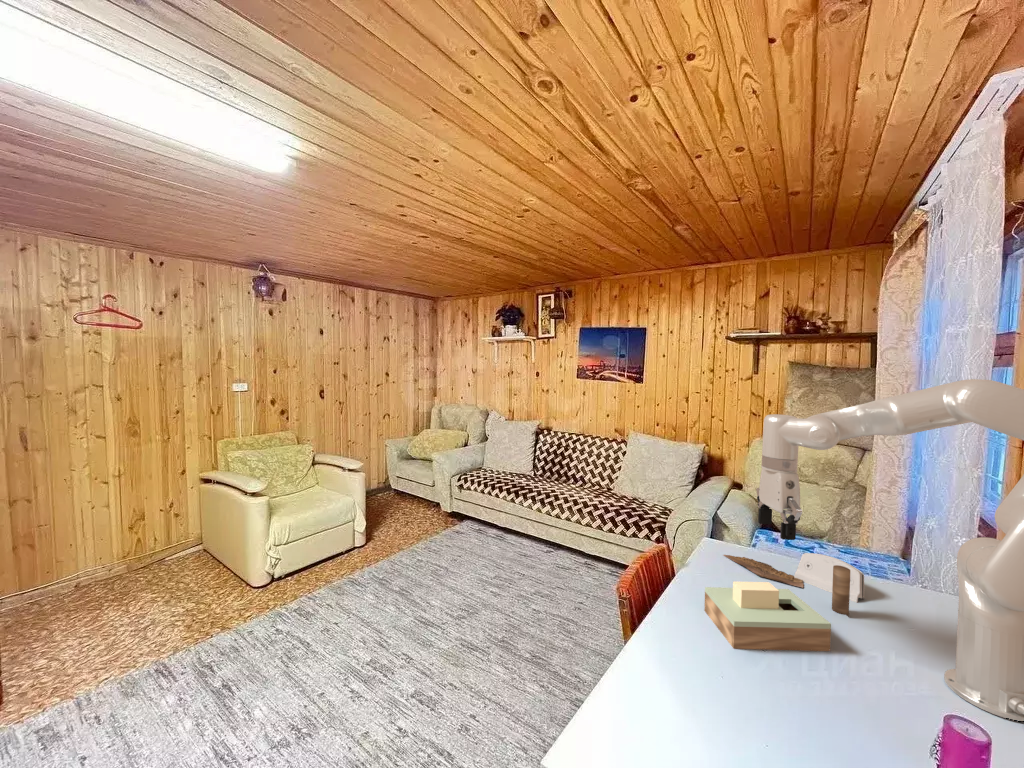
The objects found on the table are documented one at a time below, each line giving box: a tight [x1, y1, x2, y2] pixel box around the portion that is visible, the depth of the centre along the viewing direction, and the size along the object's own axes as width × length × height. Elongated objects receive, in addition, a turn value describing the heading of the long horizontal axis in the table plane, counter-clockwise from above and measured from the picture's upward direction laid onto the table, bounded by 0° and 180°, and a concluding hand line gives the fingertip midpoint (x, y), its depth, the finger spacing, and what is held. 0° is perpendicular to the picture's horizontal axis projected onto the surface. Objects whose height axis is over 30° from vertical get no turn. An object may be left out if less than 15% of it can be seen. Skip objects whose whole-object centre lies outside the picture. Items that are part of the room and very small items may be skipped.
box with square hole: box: [703, 591, 832, 652], centre depth 101 cm, size 15×22×6 cm
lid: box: [704, 581, 832, 630], centre depth 101 cm, size 15×22×6 cm
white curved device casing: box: [793, 552, 865, 604], centre depth 124 cm, size 17×5×10 cm, turn 32°
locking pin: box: [831, 565, 850, 618], centre depth 110 cm, size 4×4×12 cm
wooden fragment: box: [722, 554, 805, 589], centre depth 134 cm, size 26×11×1 cm, turn 27°
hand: (775, 531), depth 103 cm, fingers open, 9 cm apart
